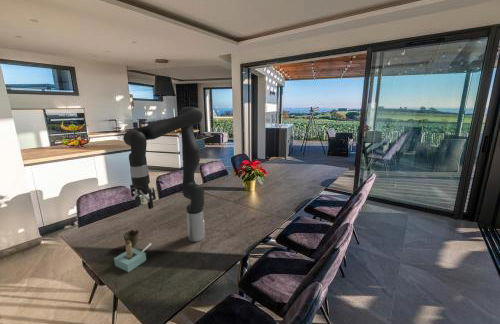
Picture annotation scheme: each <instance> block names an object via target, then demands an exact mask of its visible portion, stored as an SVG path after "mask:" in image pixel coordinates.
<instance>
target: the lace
mask: <svg viewBox="0 0 500 324" xmlns="http://www.w3.org/2000/svg"><path fill="white" fill-rule="evenodd" d="M151 245H152V243H151V242H150V243H149V244H148V245H146V247H144V249H142V250H141V251H142V252H144V253H145V251H146V250H147V249H148V248H150V246H151Z"/></svg>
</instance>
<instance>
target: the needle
mask: <svg viewBox="0 0 500 324" xmlns="http://www.w3.org/2000/svg"><path fill="white" fill-rule="evenodd" d="M124 247H125V252H126V253H127V259H128V260H130V259H131V258H133V253H132V248H133V247H132V245H131V241H129V240H128V241H126V242H124Z"/></svg>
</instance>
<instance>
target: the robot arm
mask: <svg viewBox="0 0 500 324" xmlns="http://www.w3.org/2000/svg"><path fill="white" fill-rule="evenodd" d="M202 119H203V112H202V110H201V109H200V108H198V107H195V106H184V107H181V109H180V110H179V115H176V116H173V117H168V118H165V119H160V120H156V121H154V122H152V123H150V124H147V125H144V126H140V127H135V128H133V129H129V130H127V131H125V133H124V135H123V137H122V140H123V142H124V143H125V144H126V145H127V146H129V147H130V153H129V154H128V161H129V170H130V171H129V172H130V177H131V179H130V180H131V184H130V185H129V190H130V196H131V197H133V199H134V201H135V205H136V206H137V207H139V206H140V205H141V204H142V201H141V197H143V198H144V199H145V200H146V201H147V209H148V210H151V209H153V208H154V201H156V200H157V198H156V192H155V191H156V190H155V188H154V187H150V186H149V184H151V183H150V182H151V180H150V173H149V167H148V162H147V156H146V154H147V145H148V142H147V141H149V140H155V139H158V138H160V137H163V136H166V135H168V134H170V133H173V132H174V131H178V130H180V132H181V148H182V149H181V154H182V155H181V156H182V188H181V189H182V196H183V197H184V198H186V199H189V200H190V204H188V205H187V206H186V219H187V220H186V222H187V234H188V241H190V242H200V241H202V240H204V238H205V236H206V223H205V220H204V205H205V189H204V187H203V186H202V185H200V184H197V183H196V182H195V173H196V171H197V168H198V167H199V165H200V162H201V161H200V160H201V150H200V147H199V144H198V141H197V139H196V137H195V132H194V125H199V124H200V123H201V121H202Z"/></svg>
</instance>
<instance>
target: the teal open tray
mask: <svg viewBox="0 0 500 324" xmlns="http://www.w3.org/2000/svg"><path fill="white" fill-rule="evenodd" d="M132 253H133V258H131V259H130V260H128V259H127V253H126V251H125V252H122V253H120V254H119V255H118V256H116V257H114V258H113V261H114V262H113V263H114V266H115V267H116V268H118V269H121V270H123V271H125V272H128V273H130V272H131V271H133V270H134V269H136V268H137V267H138V266H140V265H142V264H143V263H144V262H145V261H147V254H146V252H145V251H144V252H142V250H139V249H136V248H135V247H132Z"/></svg>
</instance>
